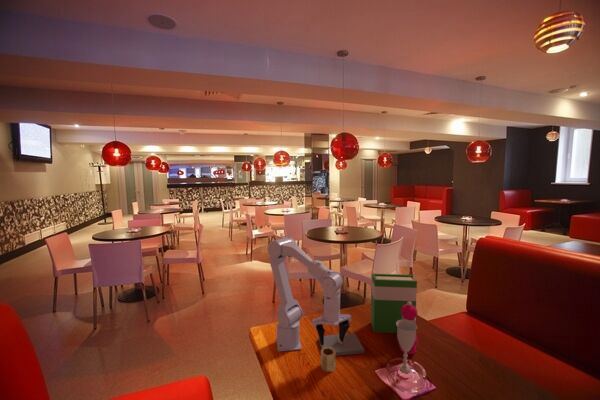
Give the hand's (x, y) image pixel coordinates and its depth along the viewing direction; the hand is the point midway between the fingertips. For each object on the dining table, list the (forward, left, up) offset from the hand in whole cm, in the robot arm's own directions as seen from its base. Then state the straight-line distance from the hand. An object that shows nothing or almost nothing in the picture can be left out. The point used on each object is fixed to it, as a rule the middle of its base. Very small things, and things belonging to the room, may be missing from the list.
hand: (331, 341), depth 101 cm
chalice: (+24, -9, -9) cm, 27 cm away
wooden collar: (-2, -2, -9) cm, 9 cm away
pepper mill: (+32, +3, -9) cm, 34 cm away
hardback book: (+33, +18, -9) cm, 39 cm away
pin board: (+6, +9, -9) cm, 14 cm away
